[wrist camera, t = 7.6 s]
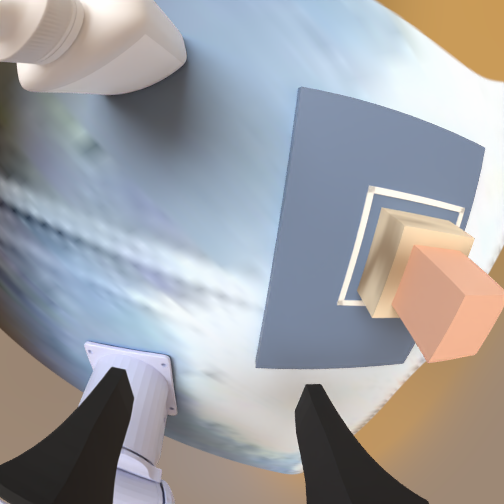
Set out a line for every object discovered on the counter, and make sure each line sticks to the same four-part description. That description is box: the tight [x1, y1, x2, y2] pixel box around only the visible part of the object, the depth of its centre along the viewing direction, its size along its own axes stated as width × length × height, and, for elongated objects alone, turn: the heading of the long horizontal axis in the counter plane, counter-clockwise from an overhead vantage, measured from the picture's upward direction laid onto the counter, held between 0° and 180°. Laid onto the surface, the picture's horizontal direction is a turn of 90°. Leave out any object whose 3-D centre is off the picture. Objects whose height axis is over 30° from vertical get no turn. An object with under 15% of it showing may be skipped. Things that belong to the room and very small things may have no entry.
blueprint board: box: [256, 87, 485, 369], centre depth 18 cm, size 20×14×1 cm
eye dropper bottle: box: [0, 0, 187, 95], centre depth 7 cm, size 4×6×12 cm
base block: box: [357, 207, 475, 318], centre depth 16 cm, size 6×6×3 cm
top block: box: [391, 245, 504, 363], centre depth 13 cm, size 4×4×5 cm
